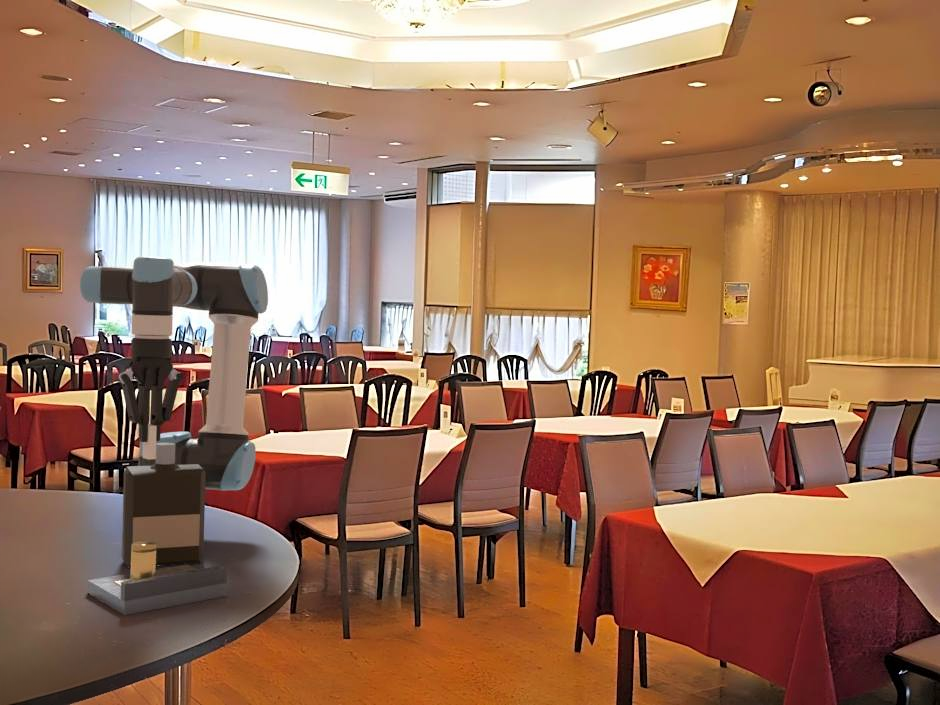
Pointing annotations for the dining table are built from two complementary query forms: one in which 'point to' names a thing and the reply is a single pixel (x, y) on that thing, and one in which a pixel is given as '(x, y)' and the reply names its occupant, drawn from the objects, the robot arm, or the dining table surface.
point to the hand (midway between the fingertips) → (149, 458)
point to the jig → (160, 588)
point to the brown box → (165, 508)
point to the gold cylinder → (143, 560)
